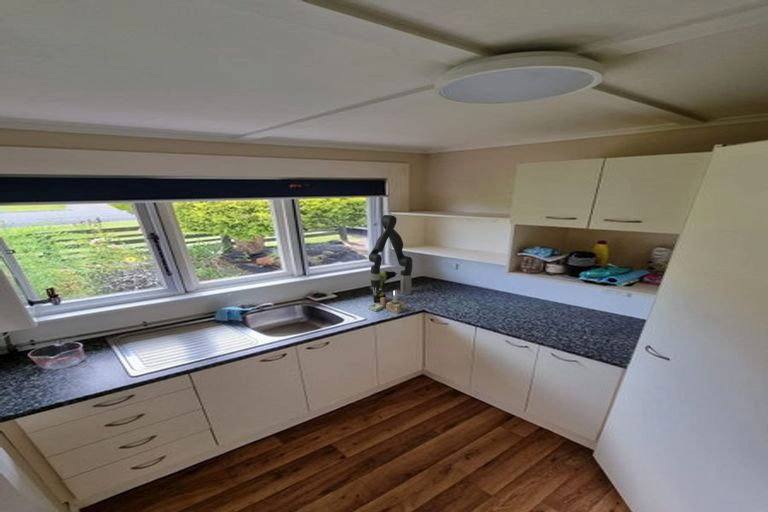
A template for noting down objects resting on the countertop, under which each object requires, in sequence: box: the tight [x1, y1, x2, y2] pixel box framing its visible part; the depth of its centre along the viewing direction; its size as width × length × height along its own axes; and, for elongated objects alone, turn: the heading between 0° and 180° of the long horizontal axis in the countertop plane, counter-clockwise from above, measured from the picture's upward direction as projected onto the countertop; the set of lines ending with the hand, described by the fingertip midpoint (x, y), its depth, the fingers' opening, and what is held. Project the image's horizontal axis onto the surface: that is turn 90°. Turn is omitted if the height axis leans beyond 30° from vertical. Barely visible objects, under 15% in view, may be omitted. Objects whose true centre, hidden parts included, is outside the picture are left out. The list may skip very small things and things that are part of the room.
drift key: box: [379, 297, 387, 308], centre depth 241 cm, size 3×3×7 cm
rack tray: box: [367, 303, 384, 312], centre depth 237 cm, size 8×8×2 cm
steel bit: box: [392, 289, 399, 304], centre depth 233 cm, size 3×3×16 cm
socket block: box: [385, 299, 406, 315], centre depth 234 cm, size 10×10×6 cm
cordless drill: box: [369, 270, 399, 304], centre depth 252 cm, size 23×7×25 cm, turn 99°
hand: (376, 299), depth 245 cm, fingers closed
